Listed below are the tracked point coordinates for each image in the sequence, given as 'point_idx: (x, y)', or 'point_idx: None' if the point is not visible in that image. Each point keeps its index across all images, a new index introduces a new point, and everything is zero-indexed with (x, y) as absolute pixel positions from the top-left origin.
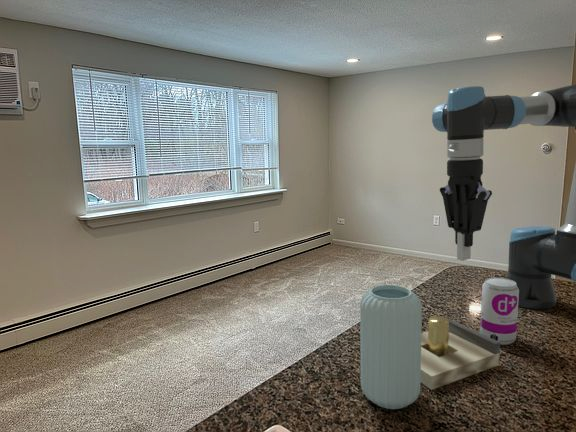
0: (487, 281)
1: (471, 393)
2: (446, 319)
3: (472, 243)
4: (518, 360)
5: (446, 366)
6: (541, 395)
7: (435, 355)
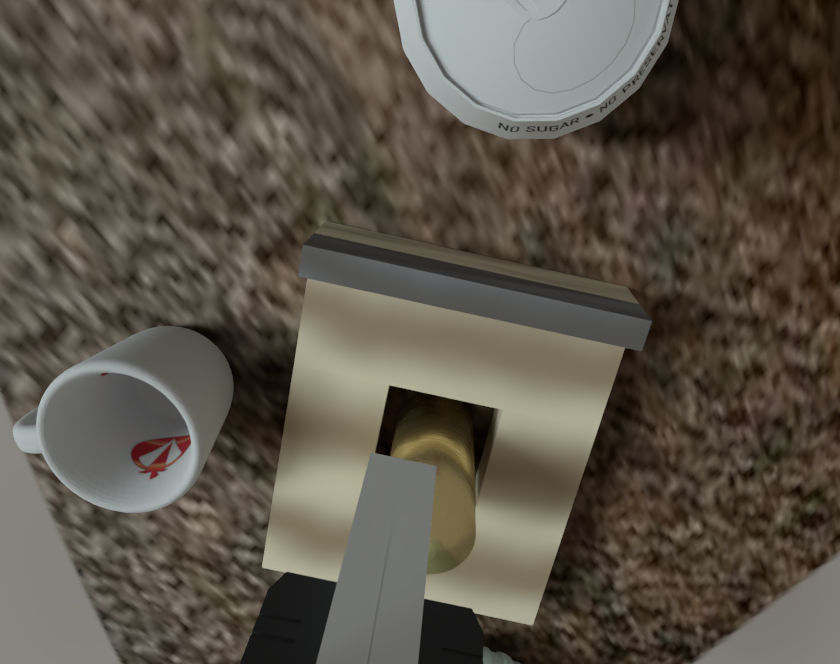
0: (443, 44)
1: (632, 524)
2: (447, 503)
3: (480, 642)
4: (674, 181)
5: (533, 543)
6: (822, 377)
7: None
